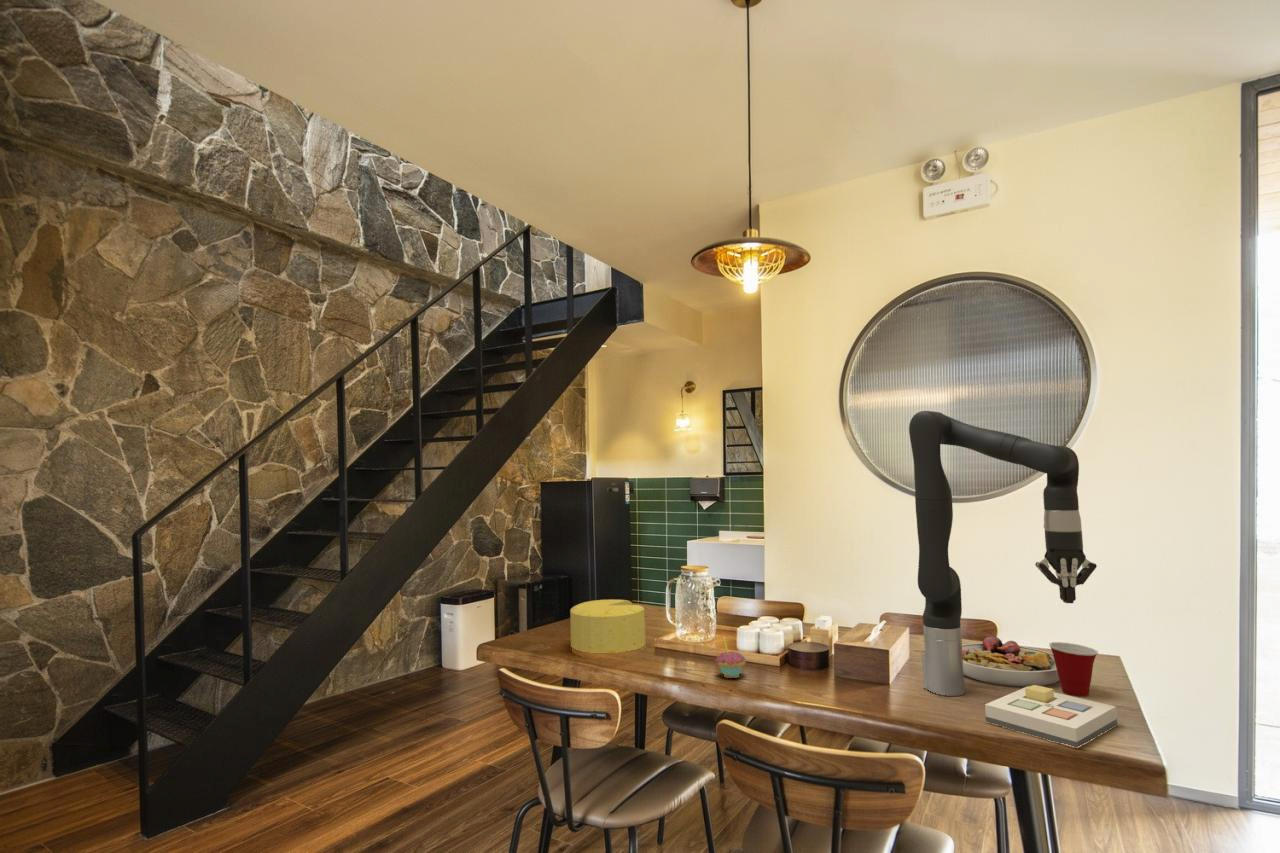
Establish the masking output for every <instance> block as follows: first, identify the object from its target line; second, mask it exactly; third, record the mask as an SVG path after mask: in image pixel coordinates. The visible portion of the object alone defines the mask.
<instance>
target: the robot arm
mask: <svg viewBox="0 0 1280 853" xmlns="http://www.w3.org/2000/svg"><path fill="white" fill-rule="evenodd" d="M908 425H909V428H908V434H909V439H910V446H911V452H912V453H911V454H912V459H913V472H914V473H913V475H914V499H915V504H914V505H915V515H916V529H917V539H918V540H917V541H918V569H917V586H918V590H919V591H920V593H921V595H922V596H923V597H924V599H925V603H924V606H925V607H924V609H923V610H924V611H923V614H922V624H923V638H924V639H923V640H924V641H923V642H924V644H923V645H924V651H923V652H921V665H922V683H923V685H922V686H923V689H924V688H925V689H924V690H929V691H928V692H930V691H931V692H930V693H932V692H933V694H935V693H936V694H935V695H939V694H940V695H941V696H945V695H946V696H947V697H958V696H963V695H965V692H966V691H965V690H966V689H965V675H964V670H963V654H962V645H963V644H962V642H963V640H962V639H963V638H962V628H961V625H962V624H961V620H962V619H961V618H962V610H963V609H962V607H963V606H962V605H963V604H962V588H961V586H962V585H961V579H960V577H959V574H958V573H957V571H956V570H955V569H954V568H953V567H951V566H950V559H949V543H950V538H951V537H950V536H951V534H952V527H953V521H954V509H953V494H952V489H951V487H950V482H949V481H948V478H947V476H946V473H945V470H944V467H943V463H942V459H941V458H942V457H941V445H944V446H945V445H946V446H955V447H960V448H966V449H968V450H971V451H975V452H977V453H980V454H982V455H984V456H987V457H989V458H993V459H996V460H1000V461H1004V462H1007V463H1011V464H1015V465H1018V466H1019V465H1020V466H1023V467H1026V468H1028V469H1031V470H1034V471H1037V472H1039V473H1044V474H1046V486H1045V487H1044V489H1043V493H1042V494H1043V497H1042V498H1043V509H1044V510H1043V511H1044V514H1043V528H1044V541H1045V542H1044V544H1045V550H1046V551H1045V553H1044V558H1043V559H1042V560H1040V561H1037V562H1035V567H1036V568H1037V569H1038V570H1039V571H1040V572H1041V573H1042V574H1043V576H1045V578H1046V579H1047V580H1048V581H1049V582H1050V583H1051V584H1054V585H1057V586H1058V588H1059V598H1060V600H1061V601H1062V602H1063V603H1065V604H1074V602H1075V601H1076V600H1077V597H1076V587H1077V586H1080V585H1084V584H1085V583H1086V581H1087V580H1088V579H1089V577H1090V576H1091V575H1092V574H1093V572H1094V571H1095V570H1096V568H1097V567H1098V566H1097V564H1096V563H1094V562H1091V561H1090V560H1089V559H1087V557H1086V554H1085V553H1084V542H1083V539H1084V538H1083V529H1082V527H1083V526H1082V519H1081V514H1080V510H1079V509H1080V507H1079V495H1078V486H1079V485H1078V484H1079V475H1080V473H1079V472H1080V462H1079V457H1078V455H1077V453H1076V452H1075V451H1074V450H1073V449H1072V448H1070V447H1068V446H1065V445H1054V444H1049V443H1044V442H1039V441H1035V440H1032V439H1031V438H1028V437H1024V436H1020V435H1016V434H1012V433H1008V432H1003V431H998V430H993V429H988V428H985V427H979V426H975V425H971V424H968V423H965V422H963V421H960V420H957V419H955V418H953V417H951V416H949V415H946V414H943V413H942V412H939V411H932V410H931V411H930V410H922V411H918V412H917V413H915V414H914V415H913V416H912V417H911V419H910V422H909V424H908ZM1050 566H1051V567H1052V569H1053V570H1054V571H1055V572H1054V573H1055V574H1054V573H1053V572H1052V571H1051V570H1050ZM1080 568H1081V570H1079V569H1080ZM1078 571H1079V572H1078Z"/></svg>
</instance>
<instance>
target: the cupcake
mask: <svg viewBox="0 0 1280 853" xmlns="http://www.w3.org/2000/svg"><path fill="white" fill-rule="evenodd" d="M722 636H723V638H722V640H723V646H724V649H725V650H724V651H723V652H722V653H719V655H717V657H716V658H715V662H716V665H718V667H720V670H721V674H722V673H723V674H725V675H730V676H736V675H739V674H740V675H741V671H742V668H743V667H745V666H746V663H747V662H746V658H745V657H744V656H743V654H741V653H740V652H737V651H729V649H728V646H727V640H726V637H725V635H724V634H722ZM723 674H722V675H723Z"/></svg>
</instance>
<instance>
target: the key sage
mask: <svg viewBox="0 0 1280 853" xmlns="http://www.w3.org/2000/svg"><path fill="white" fill-rule="evenodd" d="M1010 705H1012V706H1015V707H1019V708H1023V709H1027V710H1031V711H1032V710H1034V709H1037V708H1039V705H1038V704H1034V703H1030V702H1026V701H1022V700H1018V701H1016V702H1014V703H1011V704H1010Z"/></svg>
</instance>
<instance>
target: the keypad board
mask: <svg viewBox="0 0 1280 853" xmlns="http://www.w3.org/2000/svg"><path fill="white" fill-rule="evenodd" d="M1027 687H1030V686H1027ZM1027 687H1023V688H1020V689H1018V690H1016V691H1013V692H1011V693H1008V694H1007V695H1004V696H1002V697H1001V696H1000V697H999V698H997V699H995V700H992V701H990V702H988V703H985V704H984V708H985V711H984V712H985V713H984V714H985V722H986V721H987V722H990V723H994V724H998V725H1001V726H1004V727H1007V728H1010V729H1014V730H1017V731H1020V732H1024V733H1027V734H1030V735H1034V736H1038V737H1041V738H1045V739H1048V740H1051V741H1055V742H1059V743H1064V744H1068V745H1071V746H1074V747H1078V746H1080V745H1082V744H1084V743H1086V742H1088V741H1090V740H1091V739H1093V738H1095V737H1097V736H1098V735H1100V734H1101V733H1104V732H1105V731H1107V730H1109V729H1110V728H1112V727H1114V726H1116V725H1118V716H1117V706H1115V705H1111V704H1107V703H1102V702H1098V701H1093V700H1089V699H1085V698H1081V697H1078V696H1072V695H1068V694H1065V693H1060V692H1055V691H1054V700H1052V701H1050V702H1048V703H1043V702H1039V701H1035V700H1031V699H1027V698H1026V693H1025V688H1027ZM1018 700H1022V701H1026V702H1030V703H1034V704H1038V705H1039V708H1037V709H1034V710H1032V711H1031V710H1027V709H1023V708H1019V707H1015V706H1012V705H1010V704H1011V703H1014V702H1016V701H1018ZM1068 701H1069V702H1073V703H1078V704H1082V705H1086V706H1090V709H1089V710H1087V711H1085V712H1079V711H1075V710H1071V709H1067V708H1063V707H1060V705H1062V704H1064V703H1066V702H1068ZM1052 709H1058V710H1062V711H1066V712H1070V713H1074V714H1075V715H1076V717H1074V718H1072V719H1070V720H1065V719H1061V718H1058V717H1054V716H1050V715H1046V714H1045V713H1046V712H1048V711H1050V710H1052ZM1116 727H1117V726H1116ZM1114 728H1115V727H1114ZM1109 731H1110V730H1109ZM1104 734H1105V733H1104ZM1097 738H1098V737H1097Z"/></svg>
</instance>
